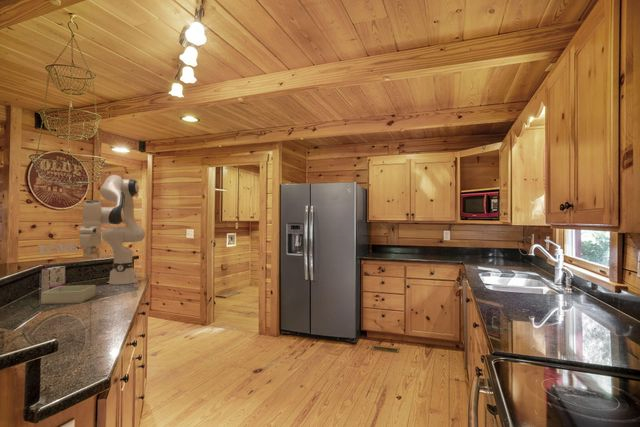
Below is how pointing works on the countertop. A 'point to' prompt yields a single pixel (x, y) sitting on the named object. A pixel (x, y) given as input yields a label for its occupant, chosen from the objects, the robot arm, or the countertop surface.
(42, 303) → the box
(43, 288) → the candy bar box
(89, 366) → the countertop surface
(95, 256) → the ash block
